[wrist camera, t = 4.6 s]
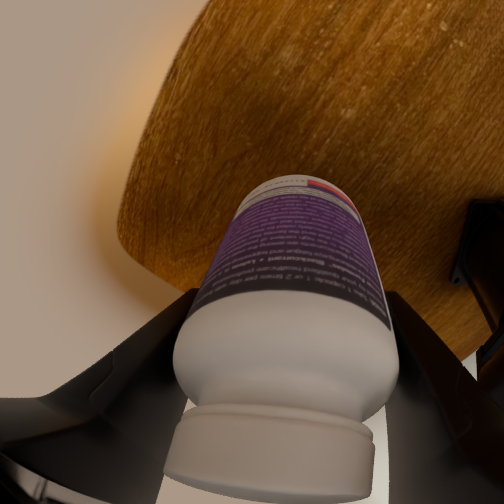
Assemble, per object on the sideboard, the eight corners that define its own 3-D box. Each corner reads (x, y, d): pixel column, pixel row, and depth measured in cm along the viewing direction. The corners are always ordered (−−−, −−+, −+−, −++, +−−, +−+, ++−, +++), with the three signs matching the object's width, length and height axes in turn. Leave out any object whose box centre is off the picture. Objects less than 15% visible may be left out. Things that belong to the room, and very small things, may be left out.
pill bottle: (210, 205, 11) (74, 433, 4) (331, 149, 9) (406, 467, 1) (271, 296, 14) (228, 500, 6) (376, 261, 12) (413, 495, 4)
